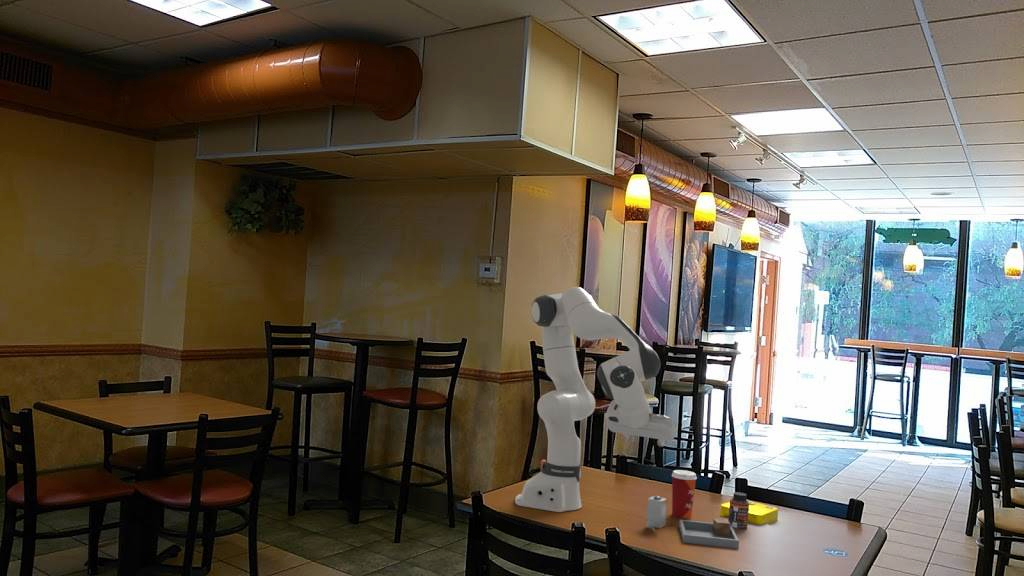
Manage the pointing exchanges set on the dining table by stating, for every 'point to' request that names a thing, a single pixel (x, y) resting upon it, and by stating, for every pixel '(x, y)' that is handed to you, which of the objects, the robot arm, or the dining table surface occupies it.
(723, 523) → the walnut block
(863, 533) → the dining table surface
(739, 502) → the supplement bottle
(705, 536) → the tray
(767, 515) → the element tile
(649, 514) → the steel part
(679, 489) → the coffee cup
